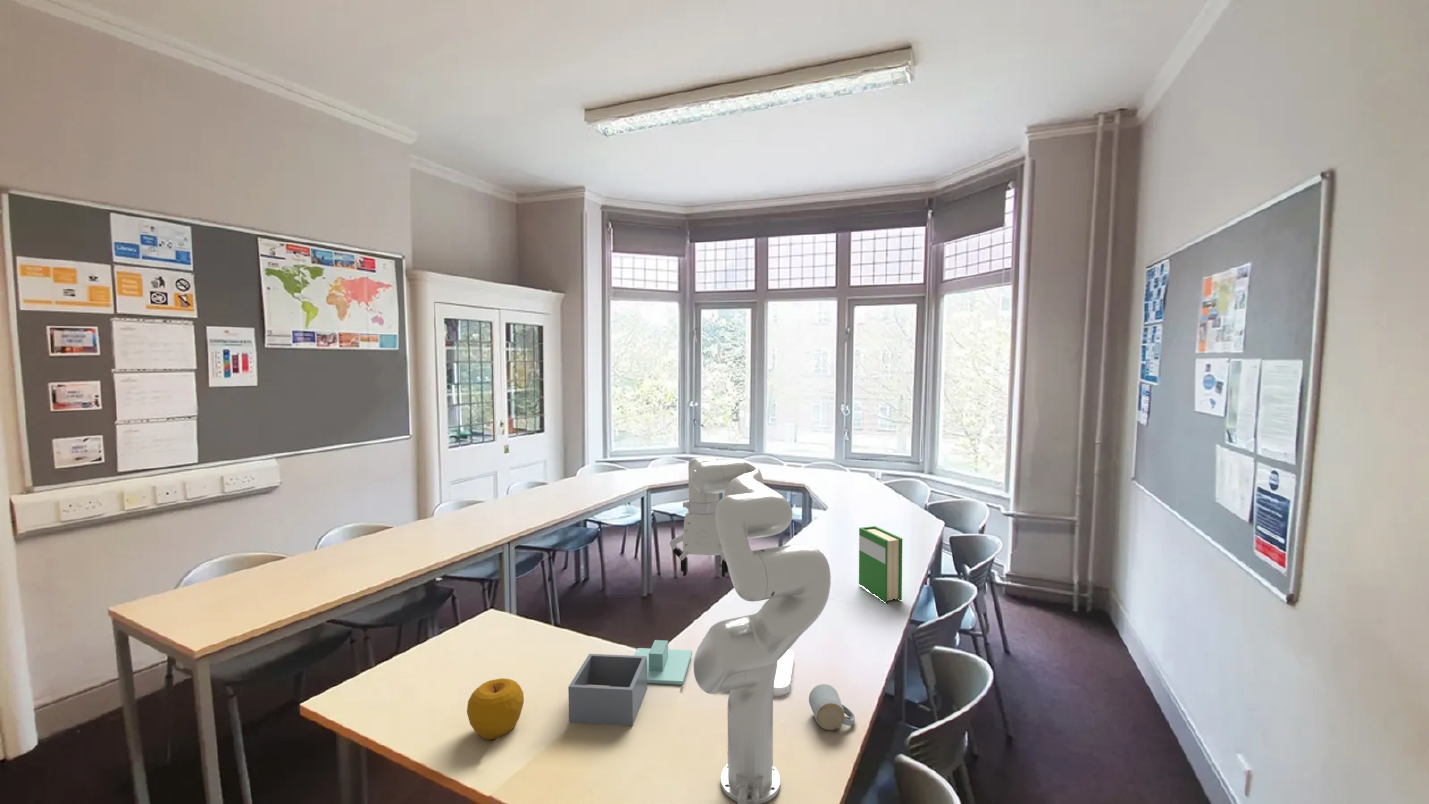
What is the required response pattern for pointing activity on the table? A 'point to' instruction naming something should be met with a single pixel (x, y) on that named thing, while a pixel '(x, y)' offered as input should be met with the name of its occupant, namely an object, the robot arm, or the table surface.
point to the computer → (784, 674)
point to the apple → (495, 707)
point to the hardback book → (880, 563)
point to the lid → (665, 663)
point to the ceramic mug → (829, 708)
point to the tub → (608, 690)
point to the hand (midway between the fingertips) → (704, 574)
